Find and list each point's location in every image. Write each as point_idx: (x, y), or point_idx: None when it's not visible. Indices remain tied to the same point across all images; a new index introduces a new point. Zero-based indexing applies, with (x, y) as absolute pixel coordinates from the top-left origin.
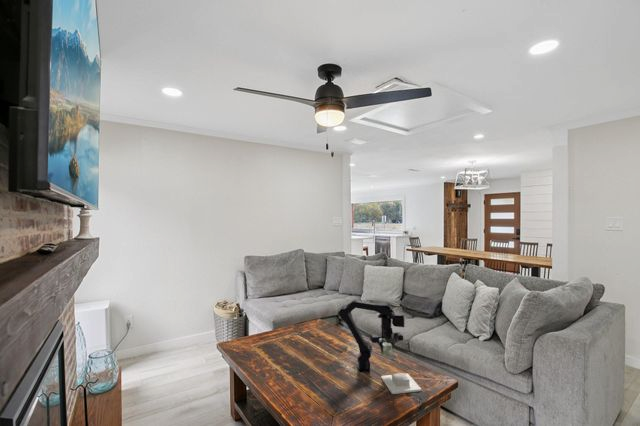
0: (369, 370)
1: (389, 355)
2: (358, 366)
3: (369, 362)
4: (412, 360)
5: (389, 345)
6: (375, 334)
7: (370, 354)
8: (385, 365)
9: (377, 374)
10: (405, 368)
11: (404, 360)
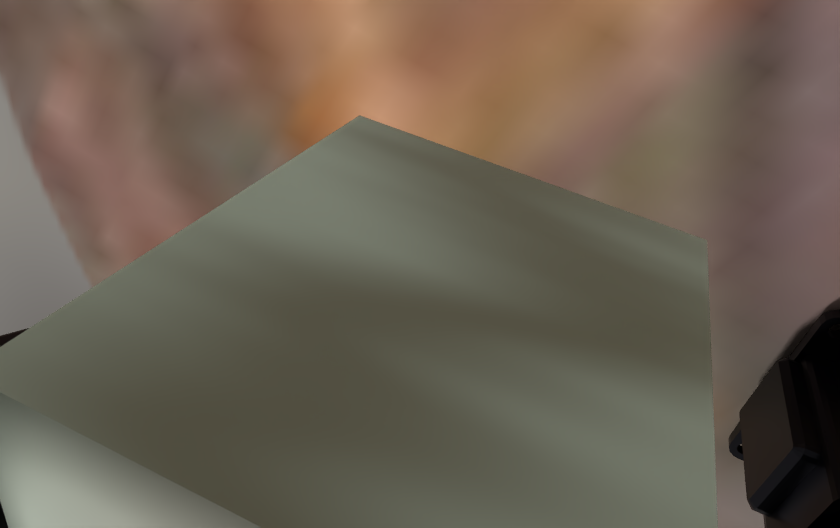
0: (829, 331)
1: (460, 159)
2: None
3: (813, 449)
4: (55, 196)
5: (155, 492)
6: None
7: None
8: None
9: (787, 161)
10: (212, 76)
11: (142, 250)
